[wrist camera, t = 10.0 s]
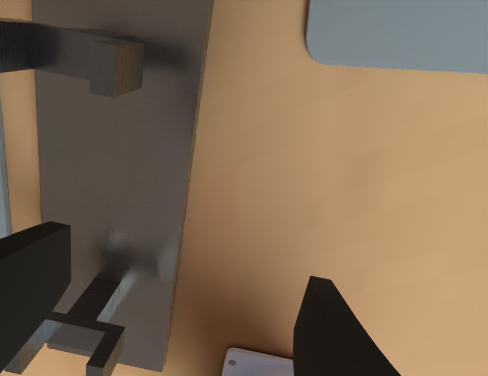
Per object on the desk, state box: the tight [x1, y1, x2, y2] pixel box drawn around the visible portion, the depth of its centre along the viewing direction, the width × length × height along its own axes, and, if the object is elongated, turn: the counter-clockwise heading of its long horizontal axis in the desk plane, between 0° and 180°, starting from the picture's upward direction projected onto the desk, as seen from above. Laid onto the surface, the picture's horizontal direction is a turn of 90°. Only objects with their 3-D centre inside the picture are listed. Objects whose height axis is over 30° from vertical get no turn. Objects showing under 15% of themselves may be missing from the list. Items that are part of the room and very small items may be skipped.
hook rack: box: [0, 0, 214, 376], centre depth 17 cm, size 26×8×7 cm, turn 170°
